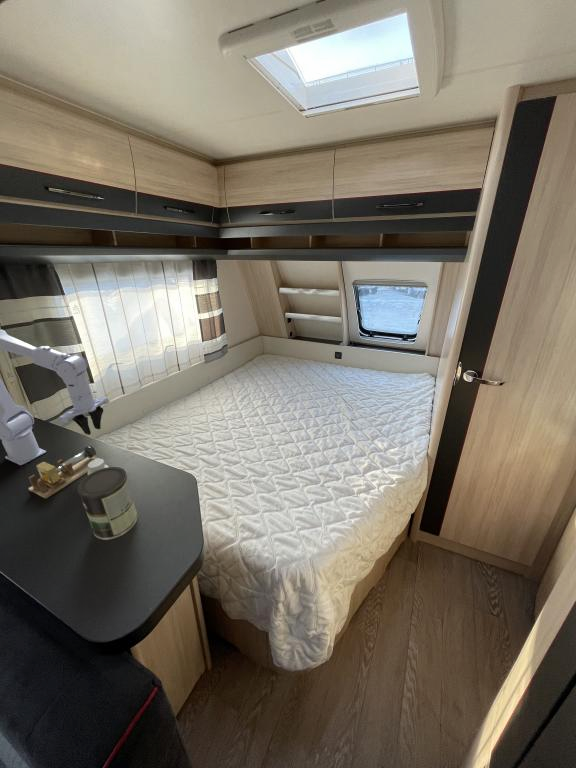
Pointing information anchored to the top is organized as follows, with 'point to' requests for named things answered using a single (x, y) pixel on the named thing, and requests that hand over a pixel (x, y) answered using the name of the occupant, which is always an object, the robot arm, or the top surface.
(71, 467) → the bearing bed
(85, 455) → the shaft
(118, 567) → the top surface
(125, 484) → the coffee can
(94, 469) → the supplement bottle
